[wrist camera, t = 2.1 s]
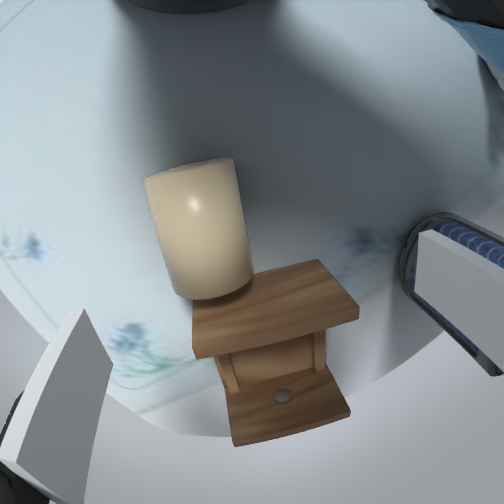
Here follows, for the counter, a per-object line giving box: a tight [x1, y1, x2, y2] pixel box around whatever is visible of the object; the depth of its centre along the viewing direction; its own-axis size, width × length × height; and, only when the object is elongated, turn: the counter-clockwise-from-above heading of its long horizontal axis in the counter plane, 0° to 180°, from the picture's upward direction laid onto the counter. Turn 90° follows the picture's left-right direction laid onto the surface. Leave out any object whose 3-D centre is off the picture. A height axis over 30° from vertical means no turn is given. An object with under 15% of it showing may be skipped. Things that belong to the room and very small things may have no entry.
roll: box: [143, 157, 254, 300], centre depth 20 cm, size 8×6×6 cm
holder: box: [192, 259, 360, 447], centre depth 24 cm, size 13×11×8 cm
